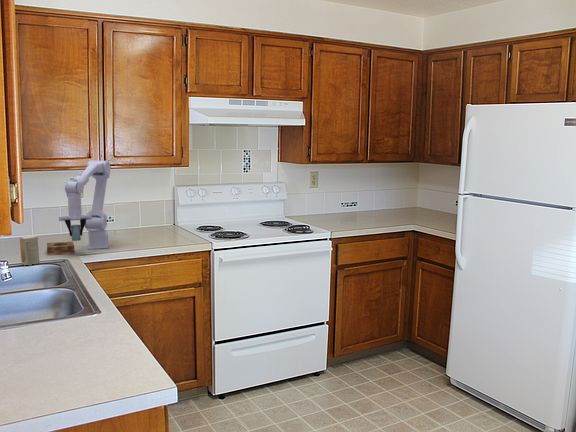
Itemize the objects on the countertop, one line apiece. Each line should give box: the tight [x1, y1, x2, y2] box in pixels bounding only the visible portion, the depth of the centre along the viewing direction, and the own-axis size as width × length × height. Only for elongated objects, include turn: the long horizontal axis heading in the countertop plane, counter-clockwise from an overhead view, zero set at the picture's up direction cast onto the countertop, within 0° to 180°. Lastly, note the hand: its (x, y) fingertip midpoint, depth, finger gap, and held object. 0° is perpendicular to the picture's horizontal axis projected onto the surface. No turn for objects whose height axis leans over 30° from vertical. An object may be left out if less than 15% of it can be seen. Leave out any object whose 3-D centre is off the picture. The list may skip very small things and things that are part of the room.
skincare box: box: [19, 235, 40, 266], centre depth 250 cm, size 6×4×12 cm
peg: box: [71, 224, 82, 242], centre depth 269 cm, size 4×4×7 cm
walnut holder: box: [46, 240, 76, 256], centre depth 276 cm, size 12×12×4 cm
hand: (76, 235), depth 269 cm, fingers closed on peg, 4 cm apart
